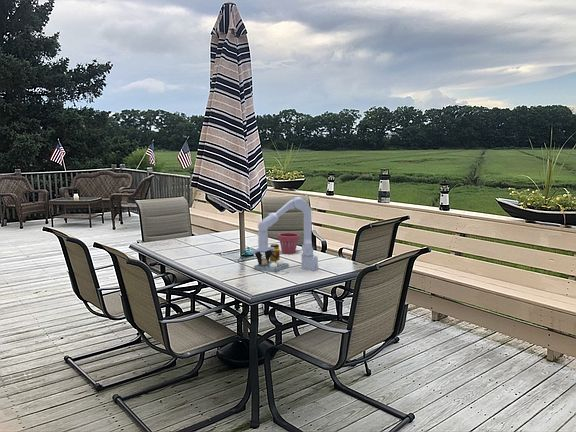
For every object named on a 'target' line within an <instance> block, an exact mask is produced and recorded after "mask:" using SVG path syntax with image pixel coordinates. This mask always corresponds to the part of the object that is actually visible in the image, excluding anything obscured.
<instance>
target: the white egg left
mask: <svg viewBox="0 0 576 432" xmlns="http://www.w3.org/2000/svg"><path fill="white" fill-rule="evenodd" d="M269 267H270V268H274V269H275V268H277V264H276V263H274V262H272V263H271V264H270V265H269Z"/></svg>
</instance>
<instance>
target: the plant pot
mask: <svg viewBox="0 0 576 432" xmlns="http://www.w3.org/2000/svg"><path fill="white" fill-rule="evenodd" d="M299 235H300V234H298V233H296V232H295V233H294V232H282V233H279V234H278V236H277V237H278V241H279V243H280V244H279V246H280V248H281V253H282V254H284V255H292V254H295V253H296V251H297V245H298V241H299V240H300V236H299Z"/></svg>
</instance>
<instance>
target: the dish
mask: <svg viewBox="0 0 576 432" xmlns="http://www.w3.org/2000/svg"><path fill="white" fill-rule="evenodd" d="M280 272H282V273H280ZM279 273H280V275H283V276H284V275H287V274H289V273H290V272H289V271H287V272H285V271H284V270H280V271H278V272H274V274H276V275H279Z"/></svg>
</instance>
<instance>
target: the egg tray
mask: <svg viewBox="0 0 576 432" xmlns="http://www.w3.org/2000/svg"><path fill="white" fill-rule="evenodd" d="M272 262H274V261H270V260H269V263H268V264H266V265H265V266H262V265H260V264H256V265H254V266H253V267H254V270H256V271H257V270H258V271H264V272H269V273H276V272H277V273H279V271H280V272H281V271H283V270H285V269H287V268H289V266H290V265H289V263H287V262H286V263H285V262H283V265H282V266H278V265H277V268H275V269H274V268H270V267H269V265H270V264H271V263H272ZM274 263H276V262H274Z"/></svg>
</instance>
